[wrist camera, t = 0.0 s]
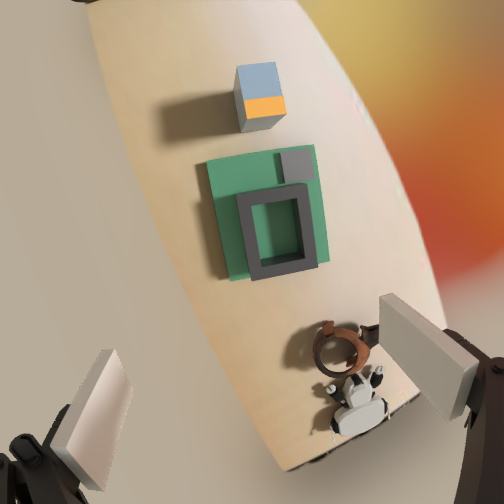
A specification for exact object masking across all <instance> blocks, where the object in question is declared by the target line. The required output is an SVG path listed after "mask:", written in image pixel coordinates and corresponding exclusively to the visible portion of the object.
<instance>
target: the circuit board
mask: <svg viewBox="0 0 504 504" xmlns="http://www.w3.org/2000/svg"><path fill="white" fill-rule="evenodd" d="M206 163H207V169H208V174H209V179H210V185H211V190H212V195H213V200H214V206H215V211H216V216H217V221H218V226H219V231H220V236H221V241H222V246H223V251H224V256H225V261H226V266H227V270H228V275H229V280H230V281H235V280H240V279H245V278H251V281H255V280H260V279H265V278H270V277H275V276H280V275H285V274H290V273H294V272H299V271H304V270H309V269H313V268H318V264H319V263H323V262H328V261H330V259H329V249H328V240H327V231H326V223H325V215H324V207H323V200H322V193H321V186H320V179H319V172H318V166H317V160H316V154H315V148H314V144H313V145H305V146H297V147H289V148H282V149H275V150H268V151H261V152H255V153H249V154H243V155H237V156H232V157H226V158H221V159H216V160H210V161H206Z"/></svg>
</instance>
